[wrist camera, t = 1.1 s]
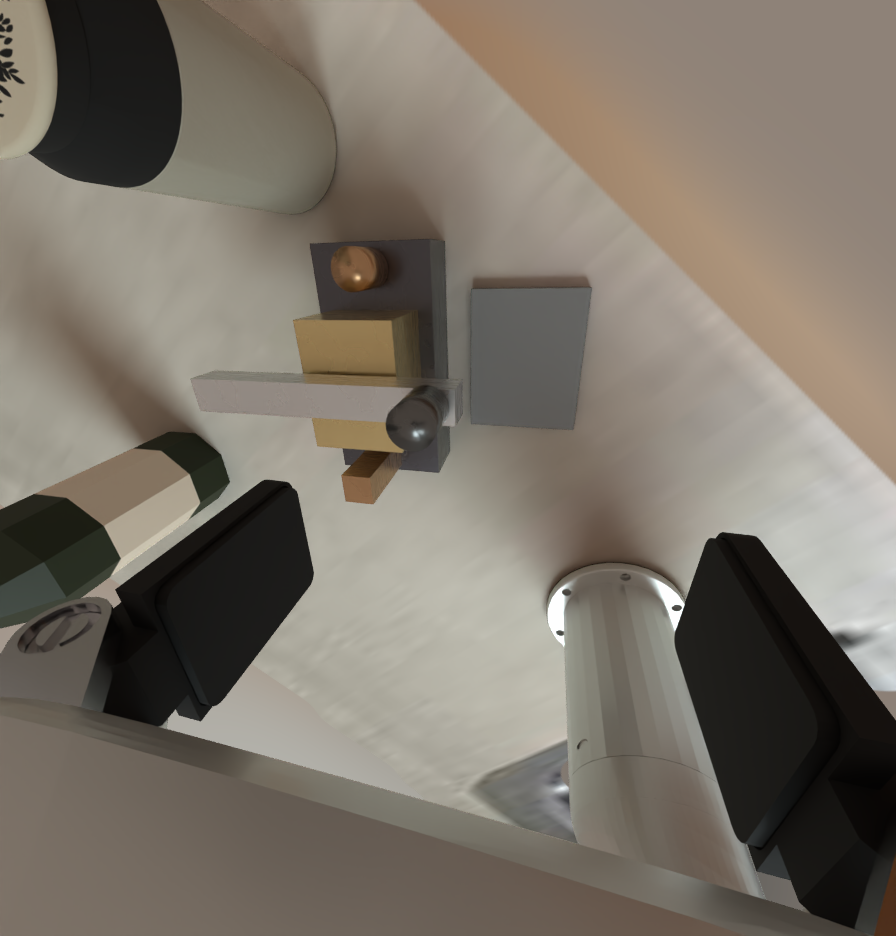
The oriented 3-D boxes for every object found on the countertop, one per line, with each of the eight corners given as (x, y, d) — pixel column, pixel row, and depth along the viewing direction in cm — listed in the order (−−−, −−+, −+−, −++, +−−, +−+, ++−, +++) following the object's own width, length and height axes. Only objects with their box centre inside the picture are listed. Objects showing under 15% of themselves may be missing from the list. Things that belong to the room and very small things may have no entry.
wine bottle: (244, 488, 43) (-231, 849, 17) (193, 506, 46) (-275, 835, 20) (195, 419, 40) (-470, 724, 14) (144, 443, 43) (-477, 730, 17)
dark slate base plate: (449, 451, 35) (416, 515, 26) (364, 444, 37) (307, 503, 28) (444, 241, 28) (396, 234, 19) (338, 245, 29) (249, 240, 21)
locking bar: (462, 417, 23) (442, 454, 19) (224, 403, 26) (160, 432, 22) (462, 375, 22) (440, 405, 18) (213, 367, 25) (144, 390, 21)
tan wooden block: (424, 424, 30) (402, 452, 26) (349, 419, 31) (317, 446, 27) (417, 309, 26) (391, 320, 22) (333, 310, 27) (293, 320, 23)
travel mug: (333, 226, 29) (79, 192, 13) (233, 199, 29) (-121, 137, 14) (344, 80, 25) (-5, -217, 9) (227, 53, 25) (-280, -266, 10)
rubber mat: (572, 426, 31) (573, 429, 31) (472, 420, 33) (470, 423, 32) (590, 287, 27) (591, 288, 26) (473, 288, 28) (471, 289, 28)
